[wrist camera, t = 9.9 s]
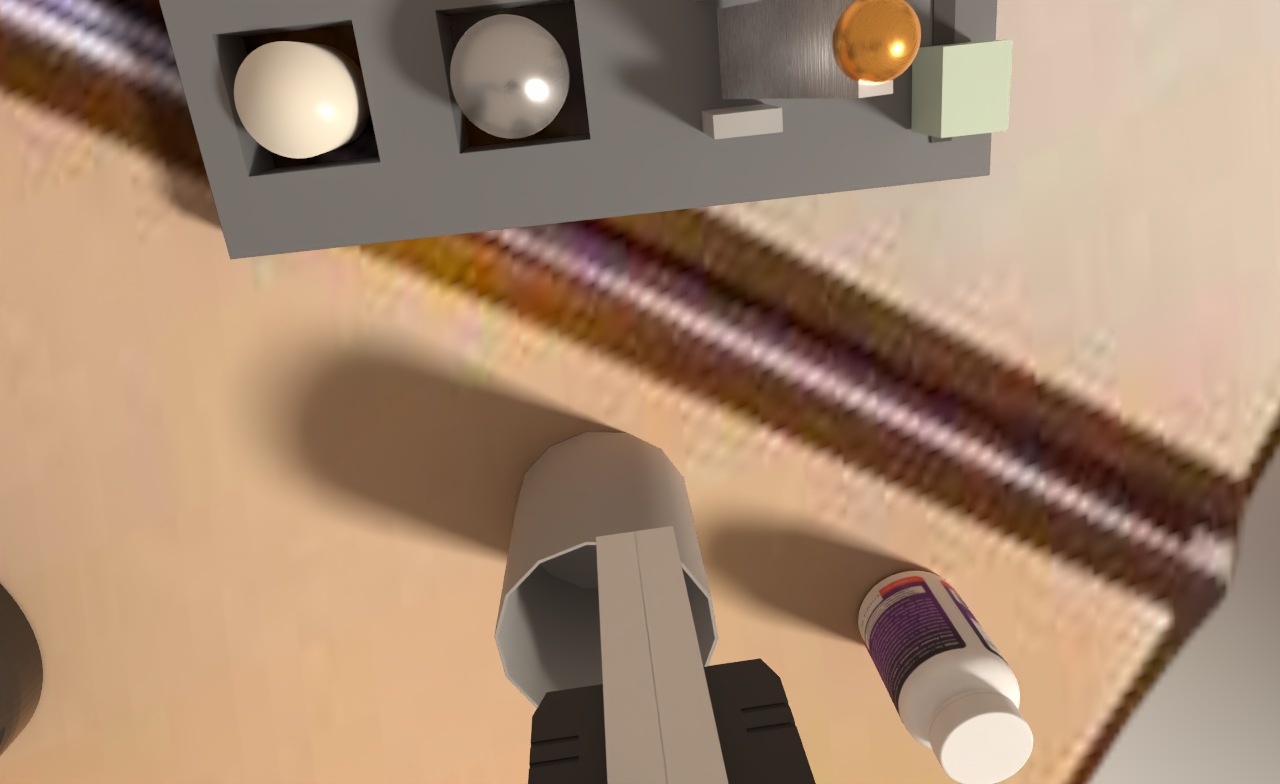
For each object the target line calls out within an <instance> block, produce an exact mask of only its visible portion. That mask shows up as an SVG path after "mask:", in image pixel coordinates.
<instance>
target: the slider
mask: <svg viewBox="0 0 1280 784" xmlns="http://www.w3.org/2000/svg"><path fill="white" fill-rule="evenodd" d="M1012 47H1013V39H1011V40H994V41H976V42H967V43H958V44H949V45H939V46H930V47H921V48H919V49H918V52H917V55H916V57H915V59H914V60H913V62H912V124H911V132H914V133H919V134H924V135H929V136H933V137H938V138H946V137H956V136H965V135H974V134H983V133H992V132H1001V131H1008V126H1009V106H1010V86H1011V67H1012Z"/></svg>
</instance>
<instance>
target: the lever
mask: <svg viewBox="0 0 1280 784" xmlns="http://www.w3.org/2000/svg"><path fill="white" fill-rule="evenodd" d="M717 23H718V39H719V55H720V71H721V87H722V99H815V98H864V97H871V96H879V95H886V94H893V79H895V78H897V77H898V76H900V75H901V74H902V73H903V72H904V71H905V70H906V69H907V68H908V67H909V66H910V65H911V63H912V62H913V60H914V59H915V57H916V55H917V52H918V49H919V46H920V40H921V28H920V22H919V19H918V16H917V14H916V12H915V11H914V9H913V8H912V6H911V5H910V4H909V3H908V2H906V1H905V0H762V1H757V2H752V3H747V4H742V5H737V6H731V7H726V8H721V9H717Z"/></svg>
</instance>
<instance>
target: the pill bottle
mask: <svg viewBox="0 0 1280 784" xmlns="http://www.w3.org/2000/svg"><path fill="white" fill-rule="evenodd" d="M858 625H859V630H860V634H861V636H862V639H863V641H864V644H865V646H866V648H867V650H868V652H869V654H870V656H871V658H872V660H873V662H874V664H875V666H876V668H877V670H878V672H879V674H880V676H881V678H882V680H883V682H884V684H885V686H886V688H887V690H888V692H889V695H890V697H891V699H892V701H893V703H894V705H895V707H896V709H897V712H898V714H899V716H900V718H901V721H902V723H903V724H904V726H905V727H906V729H907V730H908V732H909V733H910V734H911V735H912V736H913V738H914V739H916V740H917V741H918V742H919V743H921V744H922V745H924V746H926V747H928V748H930V749H932V750H933V752H934V753H935V755H936V757H937V759H938V761H939V763H940V764H941V766H942V768H943V770H944V771H945V772H946V774H947V775H948V776H949V777H951V778H952V779H954V780H956V781H957V782H960V783H963V784H994V783H997V782H1000V781H1002V780H1004V779H1006V778H1008V777H1010V776H1012V775H1013V774H1014V773H1016V772H1017V771H1018V770H1019V769H1020V768H1021V767H1022V766H1023V765H1024V764H1025V762H1026V761H1027V759H1028V758H1029V756H1030V753H1031V751H1032V747H1033V736H1032V732H1031V729H1030V727H1029V726H1028V724H1027V722H1026V721H1025V719H1024V718H1023V716H1022V714H1021V713H1020V712H1019V710H1018V708H1019V702H1020V691H1019V686H1018V682H1017V680H1016V677H1015V675H1014V673H1013V672H1012V670H1011V669H1010V667H1009V665H1008V664H1007V663H1006V661H1005V660H1004V658H1003V657H1002V655H1001V654H1000V652H999V651H998V650H997V648H996V647H995V645H994V644H993V643H992V641H991V640H990V638H989V637H988V635H987V634H986V632H985V631H984V630H983V628H982V627H981V626H980V624H979V623H978V621H977V620H976V618H975V617H974V616H973V614H972V613H971V611H970V610H969V609H968V607H967V606H966V604H965V603H964V602H963V600H962V599H961V597H960V596H959V594H958V593H957V592H956V591H955V589H954V588H953V587H952V586H951V585H950V584H949V583H948V582H947V581H946V580H945V579H943V578H941V577H940V576H938V575H935V574H933V573H930V572H925V571H906V572H901V573H897V574H894V575H892V576H890V577H887V578H886V579H884V580H882V581H881V582H879V583H878V584H877V585H875V586H874V587H873V588H872V589H871V590H870V591H869V593H868V594H867V596H866V597H865V599H864V600H863V602H862V605H861V607H860V611H859V616H858Z"/></svg>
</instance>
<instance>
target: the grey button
mask: <svg viewBox="0 0 1280 784" xmlns="http://www.w3.org/2000/svg"><path fill="white" fill-rule="evenodd" d="M450 79H451V86H452V90H453V94H454V97H455V99H456V101H457V103H458V105H459V107H460V109H461V110H462V112H463V113H464V115H465V116H466V117H467V118H468V119H469V120H470V121H471V122H472V123H473V124H474V125H475V126H477V127H478V128H480V129H481V130H483V131H485V132H487V133H489V134H491V135H494V136H497V137H502V138H510V139H512V138H522V137H527V136H530V135H533V134H535V133H537V132H539V131H541V130H542V129H544V128H545V127H546V126H547V125H548V124H550V123H551V122H552V120H553V119H554V118H555V117H556V116H557V114H558V113H559V111H560V109H561V108H562V106H563V104H564V102H565V100H566V98H567V95H568V91H569V86H570V71H569V65H568V61H567V58H566V55H565V53H564V51H563V49H562V47H561V46H560V44H559V43H558V41H557V40H556V39H555V38H554V37H553V36H552V35H551V34H550V33H549V32H548V31H547V30H545V29H544V28H543V27H541V26H540V25H539V24H537V23H535V22H534V21H532V20H530V19H527V18H525V17H521V16H517V15H510V14H500V15H495V16H491V17H488V18H485V19H483V20H481V21H479V22H477V23H476V24H474V25H473V26H471V27H470V28H469V29H468V30H467V31H466V32H465V33H464V35H463V36H462V37H461V39H460V40H459V42H458V44H457V45H456V48H455V50H454V53H453V56H452V60H451V67H450Z"/></svg>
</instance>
